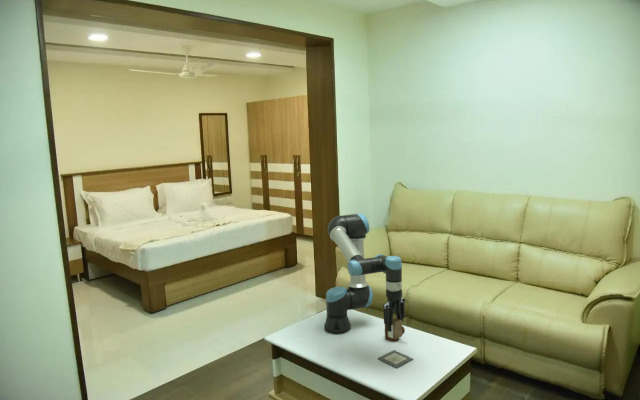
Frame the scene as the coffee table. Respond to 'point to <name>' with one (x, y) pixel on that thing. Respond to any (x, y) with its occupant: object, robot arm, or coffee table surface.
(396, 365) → the mat
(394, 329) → the walnut block
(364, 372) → the coffee table surface
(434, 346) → the coffee table surface
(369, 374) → the coffee table surface
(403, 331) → the mug
